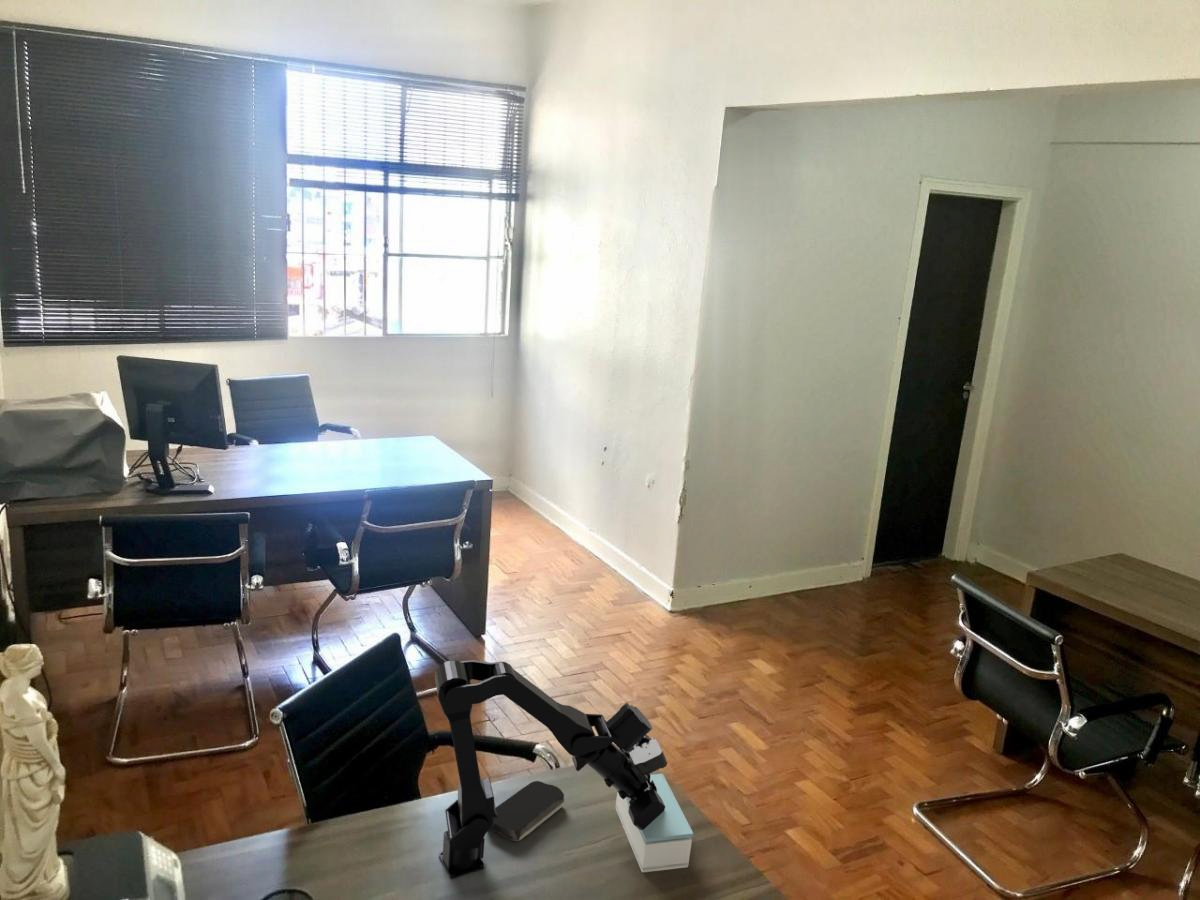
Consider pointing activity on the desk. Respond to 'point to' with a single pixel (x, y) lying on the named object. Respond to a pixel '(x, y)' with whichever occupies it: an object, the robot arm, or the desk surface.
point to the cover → (666, 816)
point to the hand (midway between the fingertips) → (661, 808)
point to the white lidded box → (653, 845)
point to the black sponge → (527, 810)
